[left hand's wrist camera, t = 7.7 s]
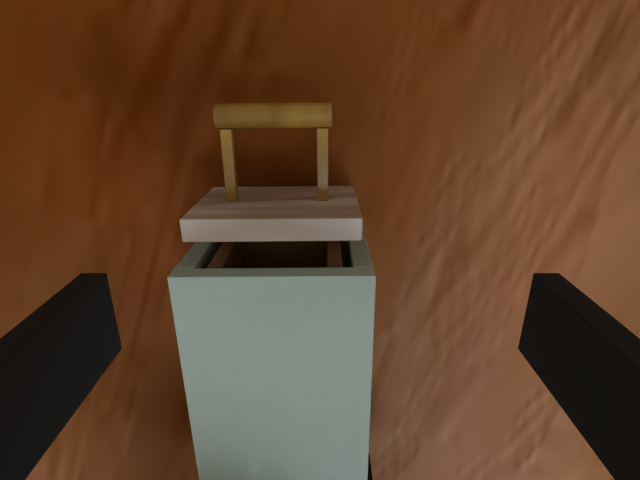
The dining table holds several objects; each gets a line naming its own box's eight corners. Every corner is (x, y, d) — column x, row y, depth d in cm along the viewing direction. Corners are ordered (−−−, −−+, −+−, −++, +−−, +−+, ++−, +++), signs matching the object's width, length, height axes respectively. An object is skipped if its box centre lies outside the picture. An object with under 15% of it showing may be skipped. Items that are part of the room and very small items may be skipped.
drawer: (204, 101, 24) (163, 107, 18) (354, 99, 24) (366, 105, 18) (238, 432, 33) (219, 512, 27) (348, 431, 33) (354, 512, 27)
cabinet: (211, 220, 28) (166, 277, 20) (360, 219, 28) (376, 275, 20) (237, 457, 36) (212, 568, 27) (354, 457, 35) (363, 568, 27)
